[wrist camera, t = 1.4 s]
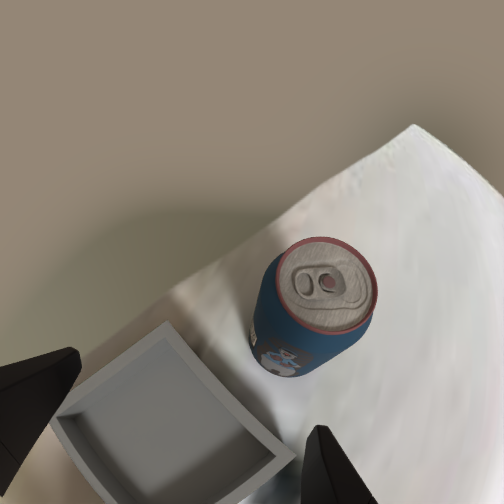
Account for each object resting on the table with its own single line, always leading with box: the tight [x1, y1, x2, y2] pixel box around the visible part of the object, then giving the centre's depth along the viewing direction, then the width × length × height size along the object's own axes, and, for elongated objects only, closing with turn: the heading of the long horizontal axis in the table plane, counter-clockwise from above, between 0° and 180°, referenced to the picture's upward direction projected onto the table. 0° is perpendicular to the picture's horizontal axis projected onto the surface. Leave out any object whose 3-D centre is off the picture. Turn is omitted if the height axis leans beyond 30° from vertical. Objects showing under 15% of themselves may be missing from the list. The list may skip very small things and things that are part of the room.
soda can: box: [249, 237, 378, 377], centre depth 19 cm, size 7×7×12 cm
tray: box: [49, 320, 297, 504], centre depth 16 cm, size 14×14×4 cm
